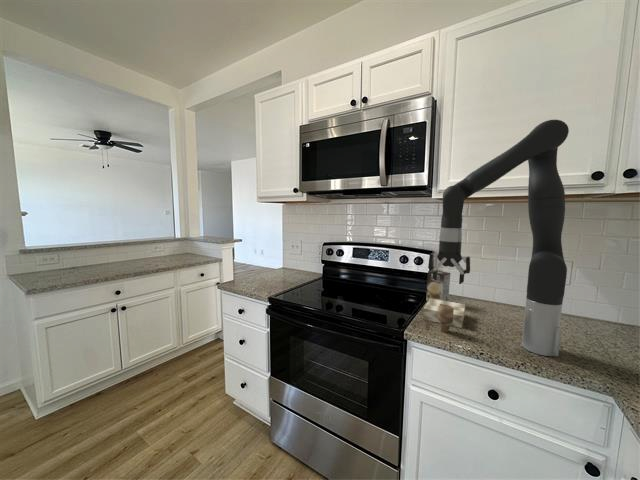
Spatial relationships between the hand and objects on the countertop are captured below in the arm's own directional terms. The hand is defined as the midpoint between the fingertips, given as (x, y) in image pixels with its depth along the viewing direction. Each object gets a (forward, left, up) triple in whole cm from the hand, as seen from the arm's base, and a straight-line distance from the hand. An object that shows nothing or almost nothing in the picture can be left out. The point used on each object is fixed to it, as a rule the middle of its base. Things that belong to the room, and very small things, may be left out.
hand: (447, 281), depth 100 cm
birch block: (+2, -15, -20) cm, 25 cm away
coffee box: (+8, -35, -20) cm, 41 cm away
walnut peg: (0, 0, -20) cm, 20 cm away
